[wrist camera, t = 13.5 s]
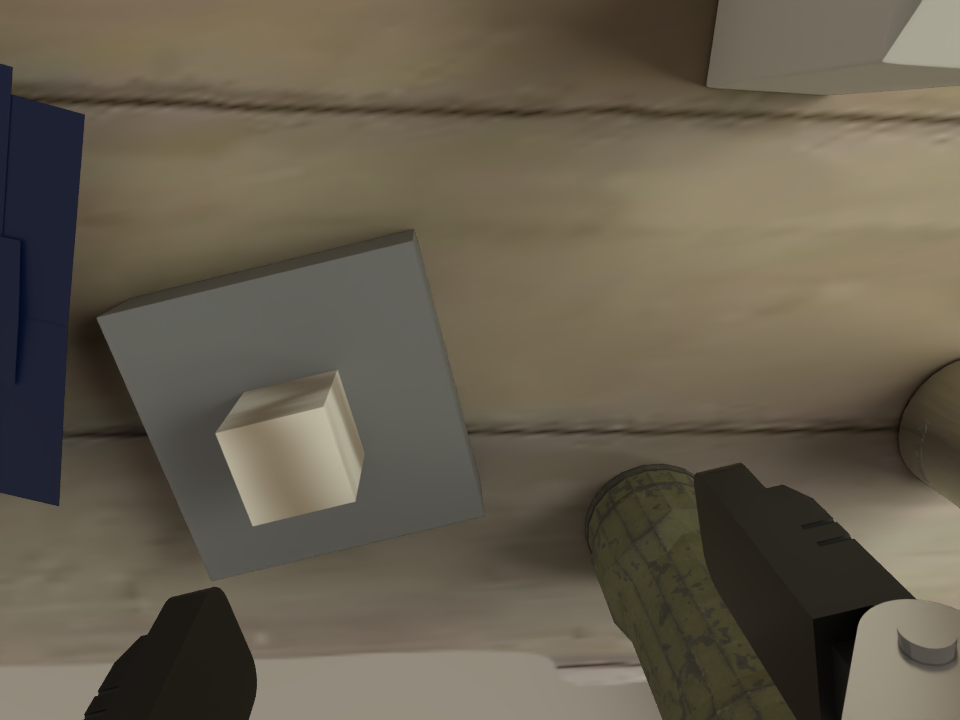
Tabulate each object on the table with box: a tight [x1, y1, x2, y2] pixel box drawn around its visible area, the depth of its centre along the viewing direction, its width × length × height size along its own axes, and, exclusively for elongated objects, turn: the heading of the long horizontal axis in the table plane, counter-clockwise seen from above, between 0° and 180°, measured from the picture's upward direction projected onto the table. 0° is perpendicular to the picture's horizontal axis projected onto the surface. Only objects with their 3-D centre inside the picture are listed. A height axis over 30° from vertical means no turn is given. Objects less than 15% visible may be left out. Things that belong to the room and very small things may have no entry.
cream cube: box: [215, 369, 365, 526], centre depth 34 cm, size 5×5×5 cm
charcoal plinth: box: [97, 229, 485, 581], centre depth 38 cm, size 16×16×4 cm
